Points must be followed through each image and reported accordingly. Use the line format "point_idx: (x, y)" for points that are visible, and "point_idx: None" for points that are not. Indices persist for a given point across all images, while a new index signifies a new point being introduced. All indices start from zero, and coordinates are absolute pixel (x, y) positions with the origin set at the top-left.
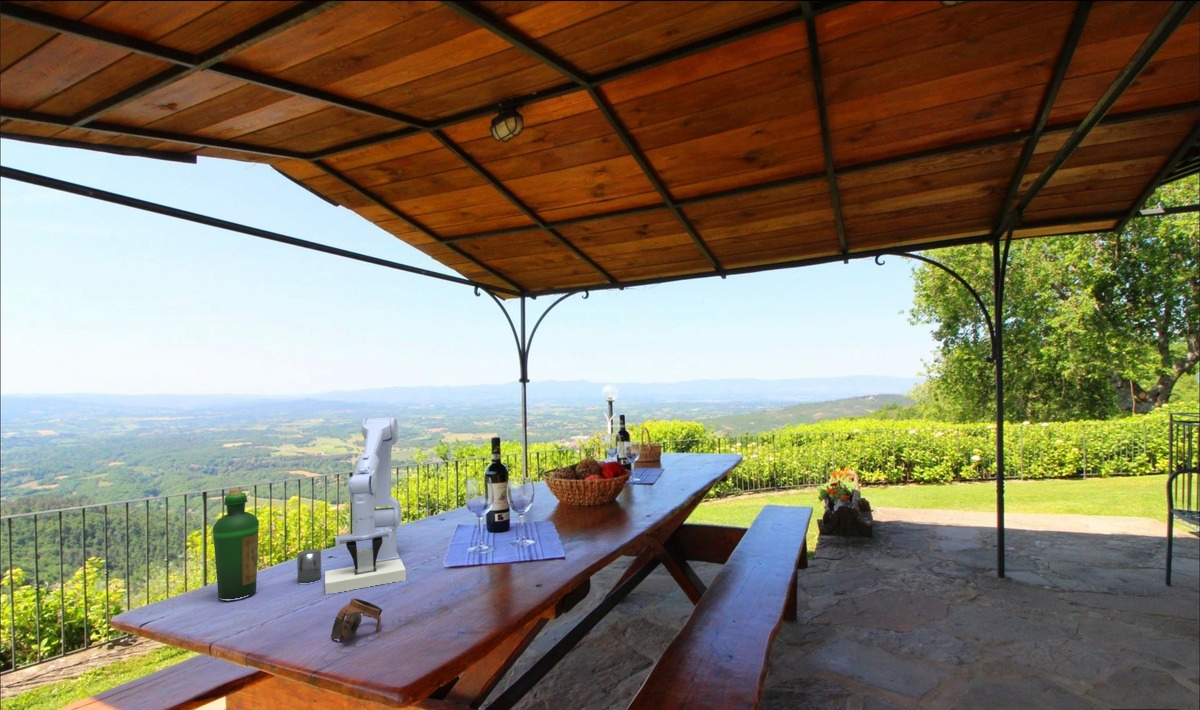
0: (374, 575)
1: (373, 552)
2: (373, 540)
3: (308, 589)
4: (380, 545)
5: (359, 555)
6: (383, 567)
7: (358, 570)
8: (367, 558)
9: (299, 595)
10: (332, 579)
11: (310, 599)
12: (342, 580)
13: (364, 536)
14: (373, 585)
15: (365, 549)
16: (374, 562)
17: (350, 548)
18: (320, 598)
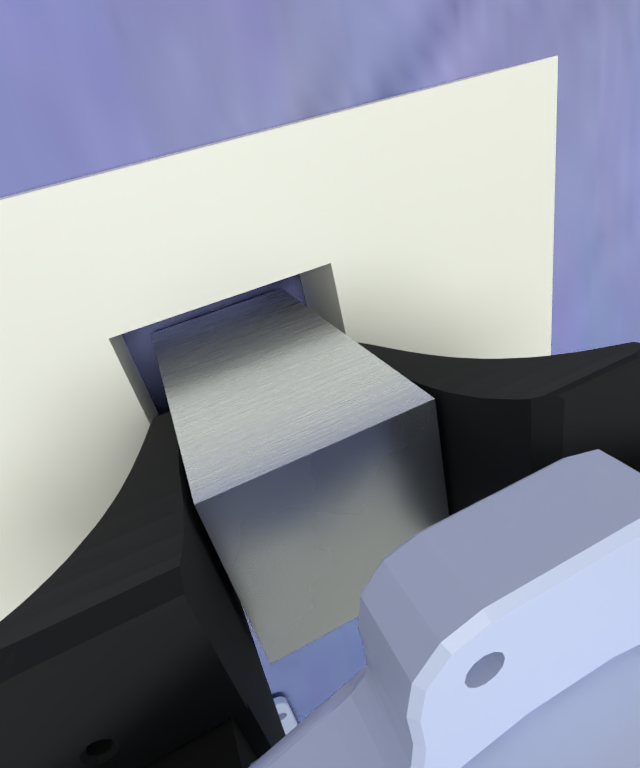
0: (81, 181)
1: (180, 486)
2: (234, 716)
3: (572, 280)
4: (20, 612)
5: (379, 391)
6: (73, 462)
7: (314, 318)
8: (253, 406)
9: (618, 166)
10: (505, 185)
11: (568, 16)
12: (422, 98)
13: (594, 587)
14: (99, 172)
15: (336, 548)
16: (161, 428)
17: (604, 357)
18: (509, 3)
